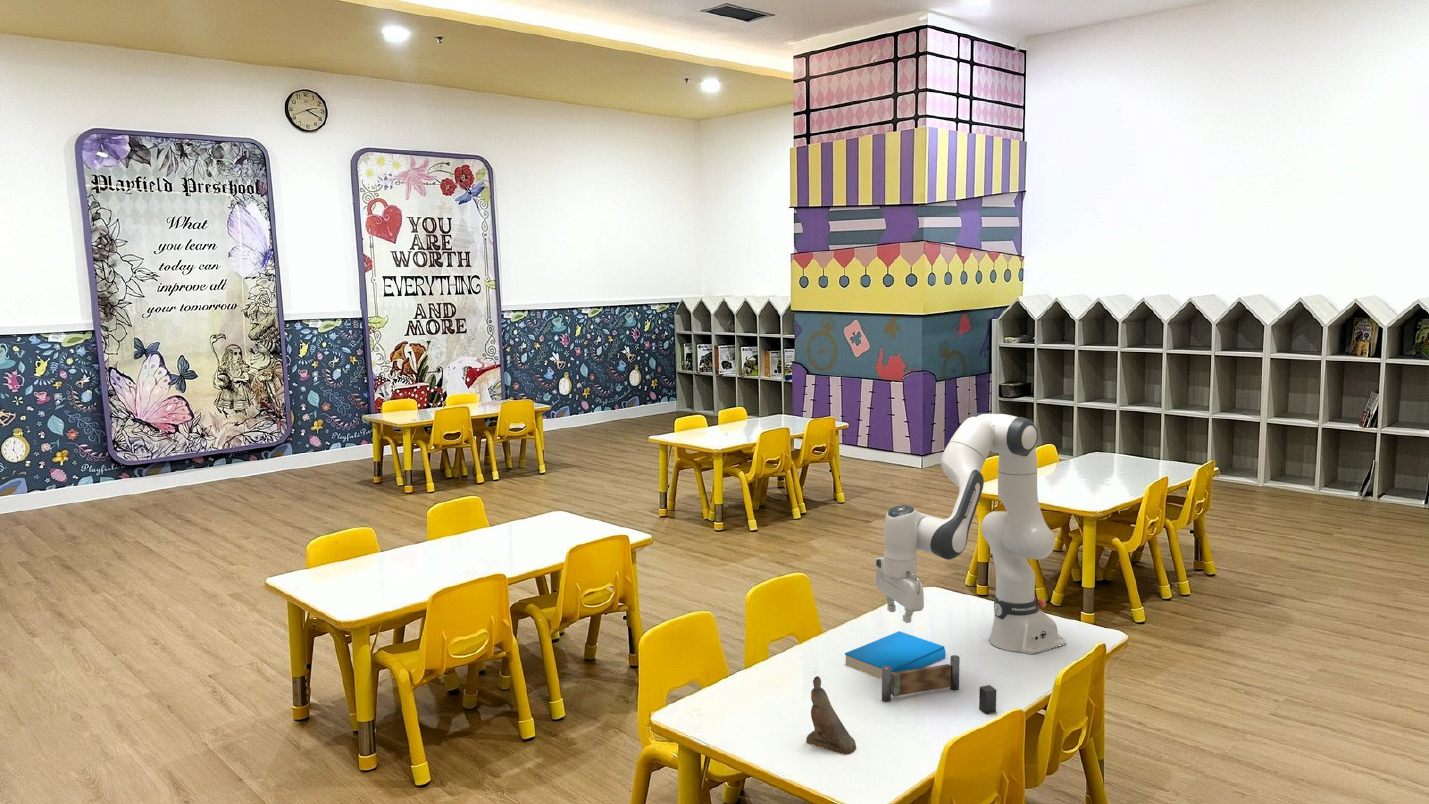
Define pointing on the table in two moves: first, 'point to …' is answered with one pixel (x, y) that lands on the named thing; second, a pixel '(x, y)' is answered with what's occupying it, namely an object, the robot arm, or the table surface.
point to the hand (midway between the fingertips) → (899, 616)
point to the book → (895, 654)
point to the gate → (920, 680)
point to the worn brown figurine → (827, 724)
